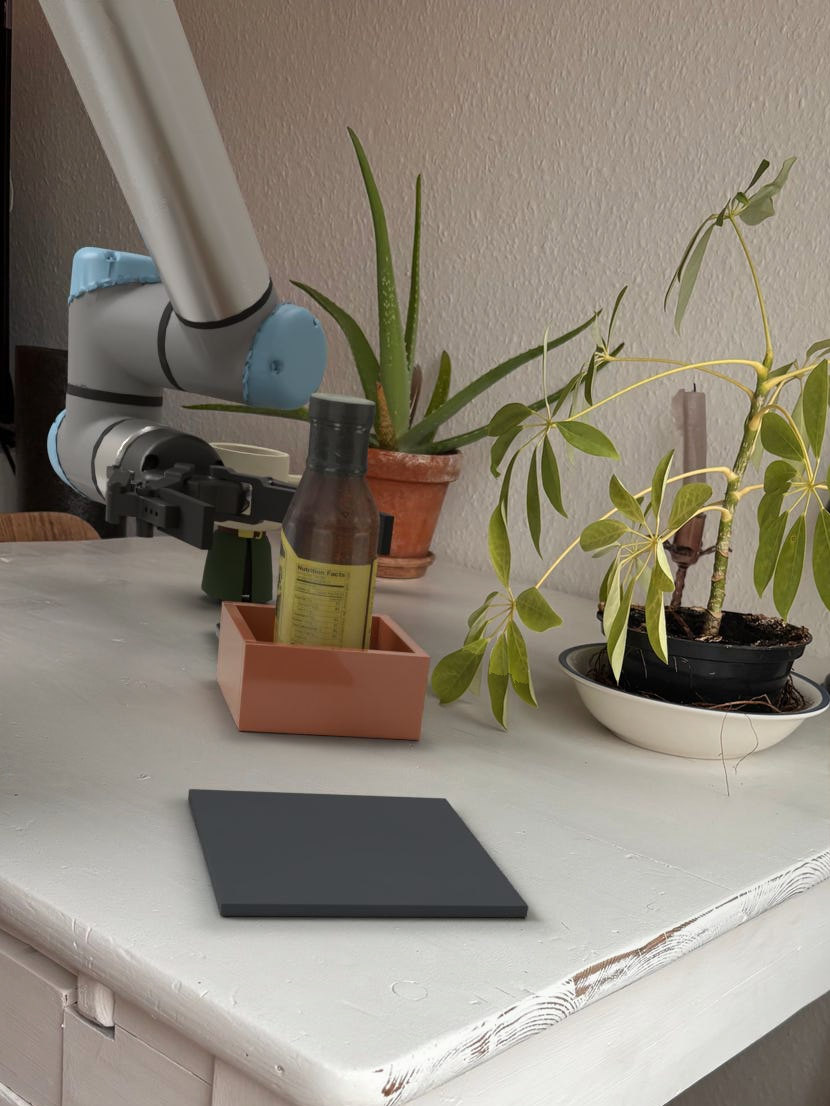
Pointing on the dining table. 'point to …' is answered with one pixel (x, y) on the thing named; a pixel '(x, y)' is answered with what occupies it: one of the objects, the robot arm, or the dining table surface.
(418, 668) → the holder
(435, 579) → the dining table surface
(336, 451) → the sauce bottle
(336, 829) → the mat
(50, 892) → the dining table surface
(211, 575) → the character mug
